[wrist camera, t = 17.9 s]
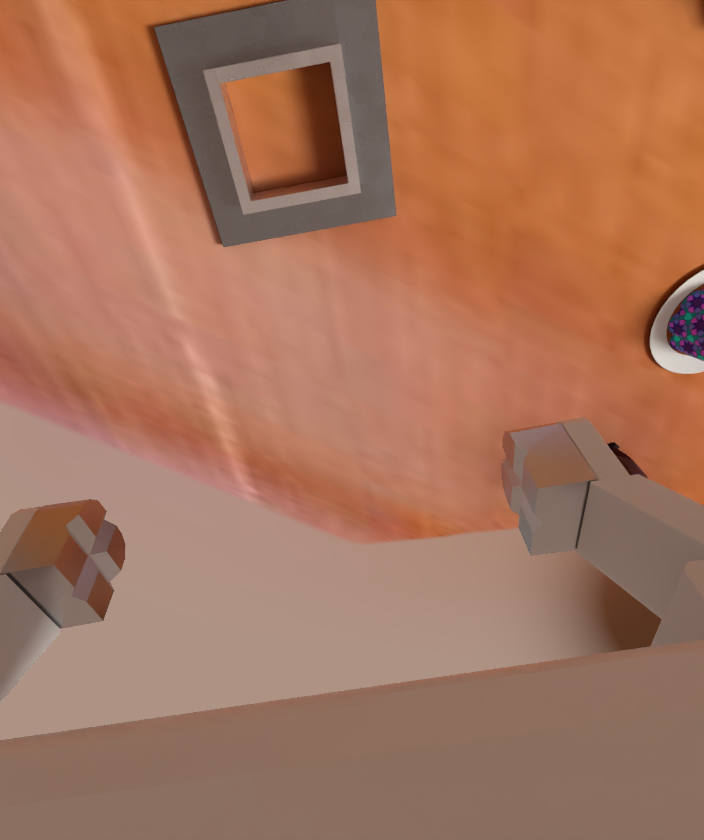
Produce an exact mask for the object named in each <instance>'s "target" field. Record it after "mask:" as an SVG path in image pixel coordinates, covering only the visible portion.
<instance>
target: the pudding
mask: <svg viewBox="0 0 704 840" xmlns="http://www.w3.org/2000/svg"><path fill="white" fill-rule="evenodd" d="M702 284H704V270H702V271H700V272H699V273H697V274H696V275H694V276H693V277H691V278H690V279H688V280H687V281H686V282H685V283H684V284H682V285H681V286H680V287H679V288H678V289H677V290H676V291H675V292H674V293H673V294H672V295H671V296H670V297H669V298H668V300H667V301H666V302H665V304H664V305H663V306H662V308H661V309H660V311H659V313H658V315H657V316H656V318H655V321H654V323H653V326H652V329H651V334H650V349H651V353H652V356H653V357H654V359H655V361H656V362H657V363H658V364H659V365H660V366H661V367H663V368H665V369H667V370H668V371H672V372H675V373H683V374H689V373H699V372H704V289H703V290H699V291H694V292H693V293H691V292H692V291H693V290H694V289H696V288H697V287H699V286H701V285H702ZM689 293H691V294H690V295H688V294H689ZM687 295H688V296H687ZM686 296H687V297H686ZM685 297H686V298H685ZM684 298H685V299H684ZM683 299H684V301H683V302H682V303H681V308H680V311H679V312H678V313H677V314H675V315H674V316H673V317H672V318H671V320H670V317H671V315H672V313H673V312H674V310H675V309H676V307H677V306H678V305H679V303H680V302H681V301H682V300H683ZM669 320H670V322H669ZM668 322H669V325H668ZM667 326H668V330H669V331H670V332H671V333H672V337H671V339H670V341H669V342H670V345H671V347H672V348H674V349H675V350H678V351H680V352H683V353H685V354H687V355H689V356H687V355H682V354H679V353H677V352H676V351H674V350H673V349H672V348H671V347H670V345H669V343H668V341H667V337H666V330H667Z"/></svg>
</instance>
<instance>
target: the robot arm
mask: <svg viewBox="0 0 704 840" xmlns="http://www.w3.org/2000/svg"><path fill="white" fill-rule="evenodd" d="M503 449H504V451H505V454H506V456H507V458H506V459H505V461H504V462H503V463H502V481H503V488H504V492H505V495H506V499H507V501H508V504H509V506H510V509H511V510H512V511H514V512H515V513H517V514H518V515H519V530H520V532H521V534H522V537H523V539H524V541H525V544H526V546H527V548H528V550H529V553H530V555H539V554H547V553H554V552H563V551H571V550H577V551H576V552H577V553H579V554H580V555H581V556H582V557H583V558H585V559H586V560H587V561H589V562H590V563H591V564H592V565H594V566H595V567H596V568H598V569H599V570H600V571H601V572H602V573H604V574H605V575H606V576H608V577H609V578H610V579H612V580H613V581H614V582H615V583H617V584H618V585H619V586H620V587H622V588H623V589H624V590H626V591H627V592H628V593H629V594H630V595H632V596H633V597H634V598H635V599H637V600H638V601H639V602H641V603H642V604H643V605H644V606H646V607H647V608H648V609H650V610H651V611H652V612H653V613H655V614H656V615H657V616H659V617H660V618H661V619H662V621H661V623H660V626H659V628H658V630H657V632H656V635H655V637H654V640H653V642H652V644H651V646H650V647H645V648H637V649H630V650H624V651H617V652H610V653H603V654H596V655H589V656H582V657H575V658H568V659H561V660H554V661H547V662H540V663H534V664H526V665H519V666H513V667H507V668H499V669H492V670H485V671H478V672H471V673H464V674H457V675H450V676H443V677H436V678H429V679H422V680H415V681H408V682H402V683H394V684H387V685H380V686H374V687H366V688H360V689H353V690H346V691H338V692H332V693H325V694H319V695H311V696H304V697H297V698H291V699H283V700H276V701H269V702H263V703H256V704H249V705H242V706H235V707H228V708H221V709H214V710H207V711H201V712H193V713H187V714H180V715H173V716H166V717H159V718H152V719H145V720H138V721H131V722H124V723H117V724H110V725H103V726H96V727H89V728H83V729H76V730H69V731H62V732H55V733H48V734H41V735H34V736H27V737H21V738H13V739H6V740H0V840H704V506H703V505H701V504H699V503H697V502H695V501H693V500H691V499H689V498H687V497H685V496H683V495H681V494H678V493H676V492H674V491H672V490H670V489H668V488H666V487H664V486H662V485H660V484H658V483H656V482H654V481H652V480H649V479H647V478H645V477H643V476H641V475H639V474H636V475H629V473H628V472H627V471H626V469H625V468H624V467H623V465H622V464H621V463H620V461H619V460H618V458H617V457H616V456H615V454H614V453H613V452H612V450H611V449H610V448H609V446H608V445H607V444H606V442H605V441H604V440H603V438H602V437H601V436H600V434H599V433H598V432H597V430H596V429H595V428H594V426H593V425H592V424H591V422H590V421H589V420H588V419H586V418H584V417H583V418H577V419H572V420H566V421H561V422H557V423H551V424H545V425H540V426H534V427H528V428H522V429H516V430H510V431H505V433H504V436H503ZM105 515H106V510H105V509H104V508H103V506H102V505H101V504H100V502H99V501H98V500H91V499H89V500H83V501H75V502H68V503H60V504H53V505H46V506H43V507H36V508H29V509H21V510H18V511H17V512H15V513H13V514H12V515H11V516H10V518H9V519H8V521H7V523H6V524H5V526H4V527H3V529H2V531H1V532H0V703H1V702H2V700H3V699H4V698H5V697H6V696H7V694H8V693H9V692H10V691H11V690H12V688H13V687H14V686H15V685H16V684H17V683H18V681H19V680H20V679H21V678H22V677H23V676H24V674H25V673H26V672H27V671H28V670H29V669H30V667H31V666H32V665H33V664H34V663H35V661H36V660H37V659H38V658H39V657H40V655H41V654H42V653H43V652H44V651H45V650H46V648H47V647H48V646H49V645H50V644H51V643H52V641H53V640H54V639H55V638H56V637H57V635H58V634H59V633H60V632H61V628H66V627H72V626H78V625H83V624H89V623H94V622H99V621H103V620H104V617H105V614H106V612H107V609H108V606H109V603H110V600H111V598H112V595H113V592H114V589H113V587H112V585H111V583H110V581H111V580H112V579H113V578H114V577H115V576H116V575H117V574H118V573H119V572H120V571H121V569H122V566H123V563H124V560H125V542H124V539H123V536H122V533H121V532H120V531H119V529H118V527H117V526H116V525H114V524H112V523H110V522H108V521H106V520H104V518H105Z"/></svg>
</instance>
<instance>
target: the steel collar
mask: <svg viewBox="0 0 704 840" xmlns="http://www.w3.org/2000/svg"><path fill="white" fill-rule="evenodd" d="M154 29H155V32H156V35H157V38H158V42H159V45H160V48H161V51H162V54H163V57H164V61H165V64H166V67H167V70H168V73H169V76H170V80H171V83H172V86H173V89H174V92H175V95H176V99H177V102H178V105H179V108H180V111H181V114H182V118H183V121H184V124H185V127H186V130H187V133H188V136H189V140H190V143H191V146H192V149H193V152H194V155H195V159H196V162H197V165H198V168H199V171H200V174H201V178H202V181H203V184H204V187H205V190H206V193H207V197H208V200H209V203H210V206H211V209H212V212H213V216H214V219H215V222H216V225H217V228H218V231H219V235H220V238H221V241H222V244H223V247H228V246H233V245H239V244H244V243H250V242H255V241H261V240H266V239H272V238H277V237H283V236H288V235H294V234H299V233H305V232H310V231H316V230H321V229H327V228H332V227H338V226H343V225H348V224H354V223H359V222H365V221H370V220H376V219H381V218H387V217H392V216H396V207H395V197H394V186H393V176H392V166H391V156H390V145H389V135H388V125H387V114H386V104H385V94H384V84H383V73H382V63H381V53H380V42H379V32H378V22H377V12H376V1H375V0H286V1H281V2H276V3H271V4H266V5H262V6H257V7H252V8H247V9H242V10H237V11H232V12H227V13H222V14H217V15H212V16H207V17H202V18H197V19H192V20H188V21H183V22H178V23H173V24H168V25H163V26H158V27H154ZM326 62H330V68H331V75H332V82H333V88H334V95H335V102H336V109H337V115H338V122H339V129H340V135H341V142H342V149H343V155H344V162H345V169H346V175H347V176H342V177H337V178H331V179H326V180H321V181H315V182H310V183H304V184H299V185H294V186H288V187H283V188H278V189H272V190H267V191H261V192H256V193H254V191H253V187H252V183H251V180H250V176H249V172H248V168H247V164H246V160H245V157H244V153H243V149H242V145H241V141H240V137H239V134H238V130H237V126H236V122H235V118H234V114H233V110H232V107H231V103H230V99H229V95H228V91H227V87H226V84H225V82H230V81H235V80H240V79H245V78H250V77H255V76H260V75H265V74H270V73H275V72H280V71H286V70H291V69H296V68H301V67H306V66H311V65H316V64H321V63H326Z"/></svg>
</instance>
